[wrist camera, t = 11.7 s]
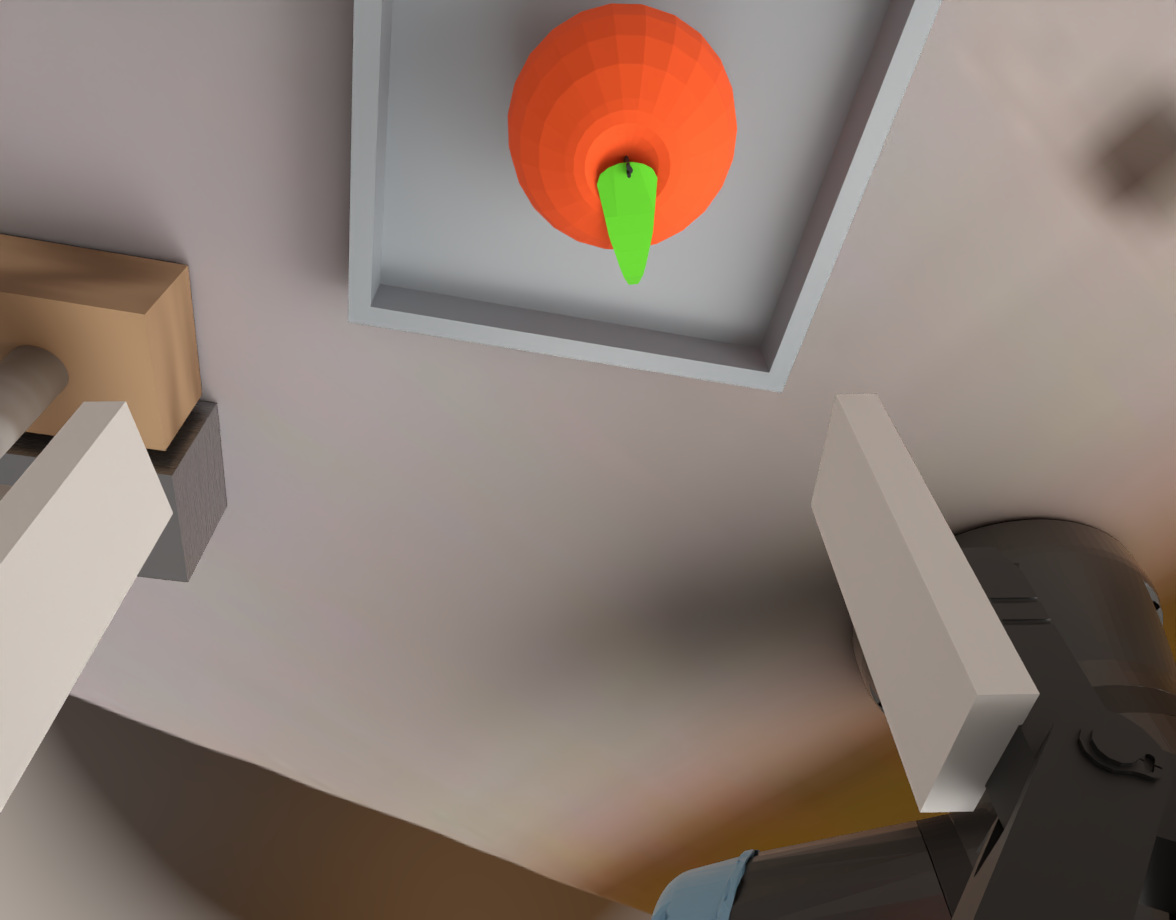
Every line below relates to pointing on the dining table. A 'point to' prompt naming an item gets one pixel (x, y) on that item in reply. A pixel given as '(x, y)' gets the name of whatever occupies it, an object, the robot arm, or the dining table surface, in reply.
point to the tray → (592, 274)
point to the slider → (93, 339)
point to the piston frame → (165, 489)
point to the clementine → (622, 129)
